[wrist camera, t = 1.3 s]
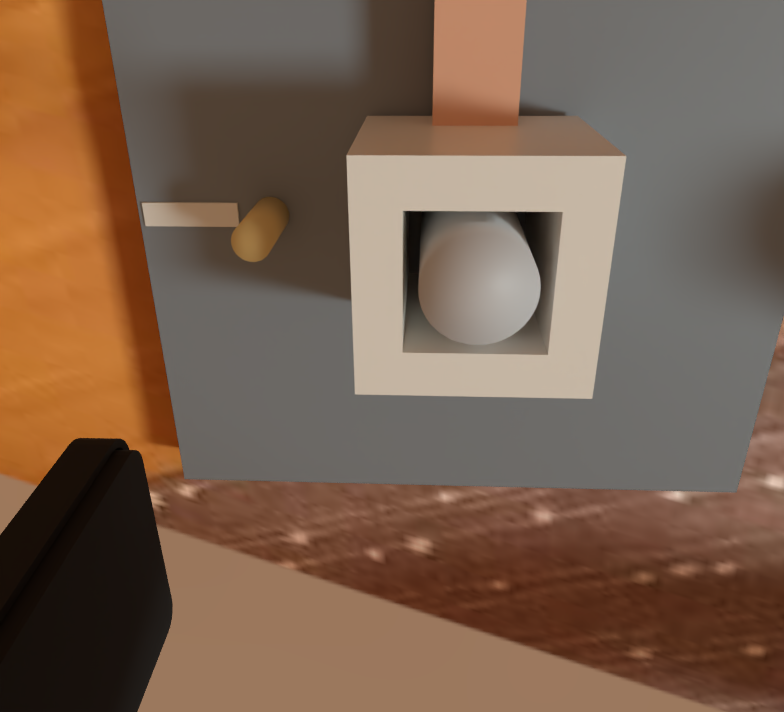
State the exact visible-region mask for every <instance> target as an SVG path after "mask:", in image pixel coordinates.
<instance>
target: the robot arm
mask: <svg viewBox="0 0 784 712" xmlns="http://www.w3.org/2000/svg"><path fill="white" fill-rule="evenodd" d="M171 620H172V598H171V594H170V588H169V584H168V579H167V574H166V569H165V564H164V559H163V555H162V550H161V545H160V540H159V535H158V531H157V526H156V521H155V516H154V511H153V507H152V502H151V497H150V492H149V487H148V483H147V478H146V473H145V468H144V463H143V459H142V456H141V454H140V453H139V451H136V450H129V448H128V445H127V444H126V442H125V441H124V440H122V439H103V438H78V439H75V440H74V441H73V442H71V443H70V444H69V446H68V447H67V448H66V450H65V451H64V452H63V454H62V455H61V456H60V458H59V459H58V460H57V461H56V463H55V464H54V465H53V467H52V468H51V469H50V471H49V472H48V473H47V475H46V476H45V477H44V478H43V480H42V481H41V482H40V484H39V485H38V486H37V488H36V489H35V490H34V492H33V493H32V494H31V496H30V497H29V498H28V500H27V501H26V502H25V503H24V505H23V506H22V508H21V509H20V510H19V511H18V513H17V514H16V515H15V517H14V518H13V519H12V520H11V522H10V523H9V524H8V526H7V527H6V528H5V530H4V531H3V532H2V533H1V535H0V712H137V711H138V708H139V706H140V703H141V701H142V698H143V696H144V693H145V691H146V688H147V685H148V683H149V680H150V678H151V675H152V672H153V670H154V667H155V665H156V662H157V660H158V657H159V655H160V652H161V649H162V647H163V644H164V642H165V639H166V637H167V634H168V631H169V628H170V625H171Z"/></svg>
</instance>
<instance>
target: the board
mask: <svg viewBox="0 0 784 712" xmlns="http://www.w3.org/2000/svg"><path fill="white" fill-rule="evenodd" d="M102 3H103V9H104V14H105V20H106V26H107V32H108V37H109V43H110V49H111V55H112V61H113V66H114V72H115V78H116V84H117V90H118V95H119V101H120V107H121V113H122V119H123V124H124V130H125V136H126V142H127V148H128V153H129V159H130V165H131V171H132V177H133V182H134V188H135V194H136V200H137V205H138V211H139V217H140V223H141V229H142V234H143V240H144V246H145V252H146V258H147V263H148V269H149V275H150V281H151V287H152V292H153V298H154V304H155V310H156V316H157V321H158V327H159V333H160V339H161V345H162V350H163V356H164V362H165V368H166V373H167V379H168V385H169V391H170V397H171V402H172V408H173V414H174V420H175V426H176V431H177V437H178V443H179V449H180V455H181V460H182V466H183V472H184V478H185V479H206V480H248V481H289V482H330V483H371V484H412V485H453V486H494V487H535V488H576V489H618V490H659V491H700V492H737V488H738V484H739V481H740V477H741V473H742V469H743V466H744V462H745V458H746V454H747V451H748V447H749V443H750V440H751V436H752V432H753V428H754V425H755V421H756V417H757V413H758V410H759V406H760V402H761V398H762V395H763V391H764V387H765V383H766V380H767V376H768V372H769V368H770V365H771V361H772V357H773V353H774V350H775V346H776V342H777V338H778V335H779V331H780V327H781V323H782V320H783V316H784V0H527V3H526V17H525V31H524V45H523V59H522V73H521V87H520V101H519V115H518V116H579V117H580V118H581V119H582V120H583V121H585V122H586V123H587V124H588V125H589V126H591V127H592V128H593V129H594V130H595V131H597V132H598V133H599V134H600V135H602V136H603V137H604V138H605V139H606V140H608V141H609V142H610V143H611V144H612V145H614V146H615V147H616V148H617V149H619V150H620V151H621V152H622V153H623V154H625V155H626V163H625V170H624V177H623V184H622V192H621V199H620V206H619V213H618V220H617V227H616V234H615V241H614V248H613V255H612V262H611V269H610V277H609V284H608V291H607V298H606V305H605V312H604V319H603V326H602V333H601V340H600V347H599V355H598V362H597V369H596V376H595V383H594V390H593V397H592V399H575V398H521V397H467V396H413V395H358V394H355V382H354V354H353V326H352V298H351V270H350V241H349V213H348V185H347V157H346V155H347V153H348V151H349V149H350V148H351V146H352V144H353V142H354V140H355V138H356V136H357V134H358V132H359V130H360V128H361V127H362V125H363V123H364V121H365V119H366V117H367V116H432V105H433V50H434V0H102ZM526 214H527V212H502V211H409V273H419V284H418V294H419V301H420V305H421V308H422V311H423V313H424V315H425V317H426V318H427V320H428V321H429V323H430V324H431V325H432V326H433V327H434V328H435V329H436V330H437V331H438V332H439V333H441V334H442V335H444V336H445V337H447V338H449V339H451V340H453V341H456V342H459V343H463V344H468V345H486V344H492V343H495V342H499V341H501V340H504V339H506V338H508V337H510V336H512V335H513V334H515V333H516V332H517V331H519V330H520V329H521V328H522V327H523V326H524V325H525V324H526V323H527V322H528V321H529V319H530V318H531V316H532V315H533V313H534V311H535V309H536V307H537V304H538V301H539V297H540V291H541V282H540V275H539V271H538V268H537V266H536V263H535V260H534V258H533V255H532V253H531V250H530V248H529V245H528V243H527V240H526V237H525V227H526Z"/></svg>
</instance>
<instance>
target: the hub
mask: <svg viewBox="0 0 784 712" xmlns="http://www.w3.org/2000/svg"><path fill="white" fill-rule="evenodd" d="M526 3H527V0H434V50H433V105H432V116H367V117H366V119H365V121H364V123H363V125H362V127H361V128H360V130H359V132H358V134H357V136H356V138H355V140H354V142H353V144H352V146H351V148H350V149H349V151H348V153H347V155H346V157H347V185H348V213H349V241H350V270H351V298H352V326H353V354H354V382H355V394H358V395H413V396H467V397H521V398H575V399H592V397H593V390H594V383H595V376H596V369H597V362H598V355H599V347H600V340H601V333H602V326H603V319H604V312H605V305H606V298H607V291H608V284H609V277H610V269H611V262H612V255H613V248H614V241H615V234H616V227H617V220H618V213H619V206H620V199H621V192H622V184H623V177H624V170H625V163H626V155H625V154H623V153H622V152H621V151H620V150H619V149H617V148H616V147H615V146H614V145H612V144H611V143H610V142H609V141H608V140H606V139H605V138H604V137H603V136H602V135H600V134H599V133H598V132H597V131H595V130H594V129H593V128H592V127H591V126H589V125H588V124H587V123H586V122H585V121H583V120H582V119H581V118H580V117H579V116H518V115H519V101H520V87H521V73H522V59H523V45H524V31H525V17H526ZM409 211H502V212H527V214H526V227H525V237H526V240H527V243H528V245H529V248H530V250H531V253H532V255H533V258H534V260H535V263H536V266H537V268H538V271H539V275H540V282H541V291H540V297H539V301H538V304H537V307H536V309H535V311H534V313H533V315H532V316H531V318H530V319H529V321H528V322H527V323H526V324H525V325H524V326H523V327H522V328H521V329H520V330H519V331H517V332H516V333H515V334H513V335H512V336H510V337H508V338H506V339H504V340H501V341H499V342H495V343H492V344H486V345H468V344H463V343H459V342H456V341H453V340H451V339H449V338H447V337H445V336H444V335H442V334H441V333H439V332H438V331H437V330H436V329H435V328H434V327H433V326H432V325H431V324H430V323H429V321H428V320H427V318H426V317H425V315H424V313H423V311H422V308H421V305H420V301H419V294H418V284H419V273H409Z"/></svg>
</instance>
